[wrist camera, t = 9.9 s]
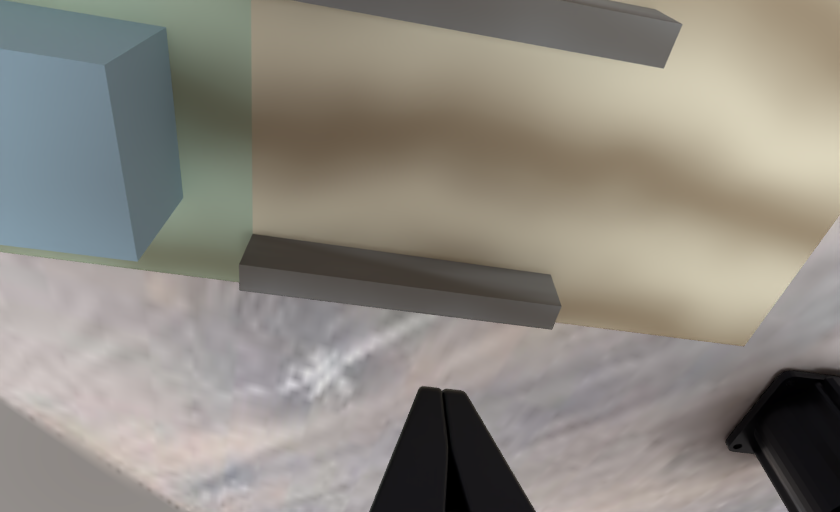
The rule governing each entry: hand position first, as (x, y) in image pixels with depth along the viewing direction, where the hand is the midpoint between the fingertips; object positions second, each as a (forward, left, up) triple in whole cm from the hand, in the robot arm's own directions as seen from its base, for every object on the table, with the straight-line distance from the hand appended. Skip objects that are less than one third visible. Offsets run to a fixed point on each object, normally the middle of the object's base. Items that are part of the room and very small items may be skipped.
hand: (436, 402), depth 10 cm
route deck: (0, +5, -13) cm, 14 cm away
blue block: (0, +11, -11) cm, 16 cm away
